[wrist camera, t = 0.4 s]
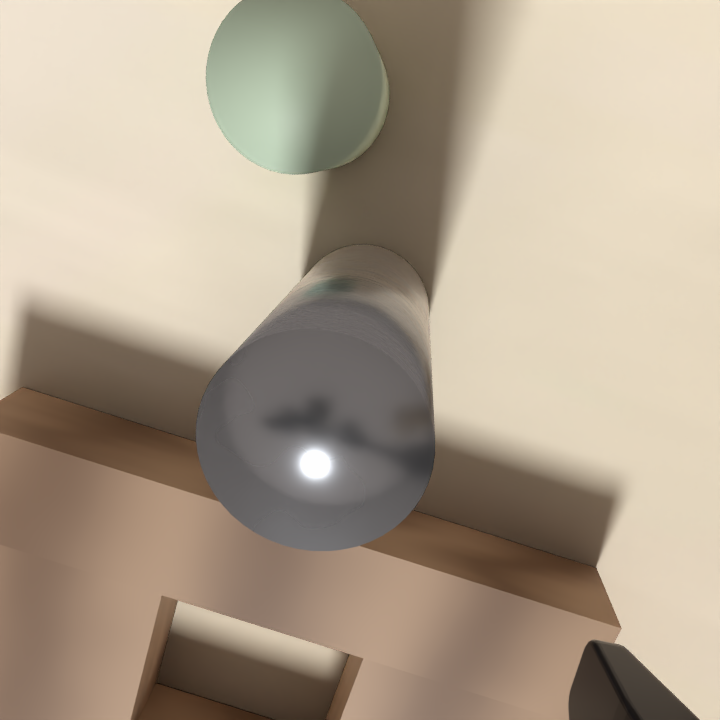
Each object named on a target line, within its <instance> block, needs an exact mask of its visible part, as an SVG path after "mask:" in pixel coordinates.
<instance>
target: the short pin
mask: <svg viewBox="0 0 720 720" xmlns="http://www.w3.org/2000/svg"><path fill="white" fill-rule="evenodd" d="M206 86H207V94H208V99H209V104H210V107H211V110H212V113H213V116H214V118H215V120H216V122H217V124H218V126H219V128H220V130H221V131H222V133H223V134H224V136H225V137H226V139H227V140H228V141H229V142H230V143H231V145H232V146H233V147H234V148H235V149H236V150H237V151H238V152H239V153H240V154H242V155H243V156H244V157H246V158H247V159H248V160H250V161H251V162H253V163H255V164H257V165H258V166H260V167H263V168H265V169H268V170H270V171H274V172H278V173H283V174H308V173H313V172H318V171H323V170H327V169H332V168H336V167H339V166H342V165H345V164H347V163H349V162H351V161H353V160H354V159H356V158H358V157H359V156H360V155H362V154H363V153H364V152H365V151H366V150H367V149H368V148H369V147H370V146H371V145H372V144H373V142H374V141H375V139H376V138H377V137H378V135H379V133H380V131H381V129H382V127H383V125H384V122H385V119H386V116H387V112H388V107H389V82H388V76H387V73H386V69H385V66H384V64H383V61H382V59H381V56H380V54H379V52H378V50H377V47H376V45H375V43H374V41H373V38H372V36H371V34H370V32H369V31H368V29H367V27H366V25H365V24H364V22H363V21H362V20H361V18H360V17H359V16H358V14H357V13H356V12H355V11H354V10H353V9H352V8H351V7H350V6H349V5H347V4H346V3H345V2H344V1H342V0H242V1H241V2H239V3H238V4H237V5H236V6H235V7H234V8H233V9H232V10H231V11H230V12H229V13H228V15H227V16H226V17H225V19H224V20H223V21H222V23H221V25H220V26H219V28H218V30H217V32H216V34H215V36H214V39H213V41H212V43H211V47H210V51H209V54H208V60H207V66H206Z"/></svg>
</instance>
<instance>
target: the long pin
mask: <svg viewBox="0 0 720 720" xmlns="http://www.w3.org/2000/svg"><path fill="white" fill-rule="evenodd" d="M196 445H197V453H198V457H199V461H200V465H201V468H202V471H203V473H204V476H205V478H206V480H207V482H208V484H209V486H210V488H211V489H212V491H213V493H214V494H215V496H216V497H217V498H218V500H219V501H220V503H221V504H222V505H223V506H224V507H225V508H226V509H227V510H228V512H229V513H230V514H231V515H232V516H233V517H235V518H236V519H237V520H238V521H239V522H240V523H242V524H243V525H244V526H246V527H247V528H249V529H250V530H252V531H253V532H255V533H256V534H258V535H260V536H262V537H264V538H266V539H268V540H270V541H273V542H276V543H278V544H281V545H284V546H288V547H292V548H296V549H302V550H309V551H335V550H343V549H348V548H353V547H357V546H360V545H363V544H365V543H368V542H371V541H373V540H375V539H377V538H379V537H381V536H383V535H384V534H386V533H387V532H389V531H390V530H392V529H393V528H395V527H396V526H397V525H398V524H399V523H401V522H402V521H403V520H404V519H405V518H406V517H407V516H408V515H409V514H410V512H411V511H412V510H413V509H414V508H415V506H416V505H417V503H418V502H419V500H420V499H421V497H422V496H423V493H424V491H425V489H426V487H427V485H428V483H429V479H430V476H431V473H432V469H433V463H434V456H435V432H434V410H433V388H432V367H431V345H430V323H429V304H428V297H427V293H426V289H425V287H424V284H423V282H422V280H421V278H420V277H419V275H418V273H417V272H416V271H415V269H414V268H413V267H412V266H411V265H410V264H409V263H408V262H407V261H406V260H405V259H403V258H402V257H401V256H399V255H398V254H396V253H394V252H392V251H390V250H388V249H385V248H383V247H379V246H375V245H366V244H361V245H351V246H346V247H343V248H339V249H337V250H335V251H333V252H331V253H329V254H328V255H326V256H324V257H323V258H322V259H321V260H320V261H318V262H317V263H316V264H315V265H314V267H313V268H312V269H311V270H310V271H309V272H308V273H307V274H306V275H305V276H304V277H303V279H302V280H301V281H300V282H299V283H298V284H297V285H296V286H295V287H294V288H293V289H292V290H291V292H290V293H289V294H288V295H287V296H286V297H285V298H284V299H283V300H282V301H281V302H280V304H279V305H278V306H277V307H276V308H275V309H274V310H273V311H272V312H271V313H270V314H269V315H268V317H267V318H266V319H265V320H264V321H263V322H262V323H261V324H260V325H259V326H258V327H257V329H256V330H255V331H254V332H253V333H252V334H251V335H250V336H249V337H248V338H247V339H246V340H245V342H244V343H243V344H242V345H241V346H240V347H239V348H238V349H237V350H236V351H235V352H234V354H233V355H232V356H231V357H230V358H229V359H228V360H227V361H226V362H225V363H224V364H223V365H222V367H221V368H220V369H219V370H218V371H217V372H216V374H215V375H214V377H213V378H212V380H211V381H210V383H209V385H208V387H207V389H206V391H205V393H204V395H203V397H202V400H201V403H200V407H199V410H198V416H197V421H196Z"/></svg>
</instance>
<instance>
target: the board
mask: <svg viewBox="0 0 720 720" xmlns="http://www.w3.org/2000/svg"><path fill="white" fill-rule="evenodd" d="M177 601H182V602H185V603H188V604H191V605H194V606H198V607H201V608H204V609H207V610H210V611H214V612H217V613H220V614H223V615H226V616H230V617H233V618H236V619H239V620H242V621H245V622H249V623H252V624H255V625H258V626H261V627H265V628H268V629H271V630H274V631H277V632H281V633H284V634H287V635H290V636H293V637H297V638H300V639H303V640H306V641H309V642H312V643H316V644H319V645H322V646H325V647H328V648H332V649H335V650H338V651H341V652H344V653H348V654H349V657H348V660H347V662H346V665H345V668H344V670H343V673H342V676H341V679H340V681H339V684H338V687H337V689H336V692H335V695H334V697H333V700H332V703H331V706H330V708H329V711H328V714H327V716H326V719H325V720H569V712H568V701H569V694H570V689H571V686H572V683H573V680H574V677H575V674H576V671H577V668H578V665H579V662H580V660H581V657H582V654H583V651H584V648H585V646H586V645H587V643H588V642H589V641H591V640H593V639H596V640H601V641H605V642H610V643H614V642H615V640H616V638H617V636H618V634H619V632H620V630H621V629H622V628H621V626H620V624H619V621H618V619H617V616H616V614H615V612H614V609H613V607H612V604H611V602H610V600H609V597H608V595H607V592H606V590H605V588H604V585H603V583H602V580H601V578H600V576H599V573H598V571H597V568H594V567H591V566H588V565H585V564H582V563H579V562H575V561H572V560H569V559H566V558H563V557H560V556H556V555H553V554H550V553H547V552H544V551H541V550H537V549H534V548H531V547H528V546H525V545H522V544H518V543H515V542H512V541H509V540H506V539H502V538H499V537H496V536H493V535H490V534H487V533H483V532H480V531H477V530H474V529H471V528H468V527H464V526H461V525H458V524H455V523H452V522H449V521H445V520H442V519H439V518H436V517H433V516H430V515H426V514H423V513H420V512H417V511H414V510H412V511H411V512H410V514H409V515H408V516H407V517H406V518H405V519H404V520H403V521H402V522H401V523H399V524H398V525H397V526H396V527H395V528H393V529H392V530H390V531H389V532H387V533H386V534H384V535H383V536H381V537H379V538H377V539H375V540H373V541H371V542H368V543H365V544H363V545H360V546H357V547H353V548H348V549H343V550H335V551H309V550H302V549H296V548H292V547H288V546H284V545H281V544H278V543H276V542H273V541H270V540H268V539H266V538H264V537H262V536H260V535H258V534H256V533H255V532H253V531H252V530H250V529H249V528H247V527H246V526H244V525H243V524H242V523H240V522H239V521H238V520H237V519H236V518H235V517H233V516H232V515H231V514H230V513H229V512H228V510H227V509H226V508H225V507H224V506H223V505H222V504H221V503H220V501H219V500H218V498H217V497H216V496H215V494H214V493H213V491H212V489H211V488H210V486H209V484H208V482H207V480H206V478H205V476H204V473H203V471H202V468H201V465H200V461H199V457H198V453H197V445H196V442H195V441H192V440H189V439H185V438H182V437H179V436H176V435H173V434H170V433H166V432H163V431H160V430H157V429H154V428H151V427H147V426H144V425H141V424H138V423H135V422H132V421H128V420H125V419H122V418H119V417H116V416H113V415H109V414H106V413H103V412H100V411H97V410H93V409H90V408H87V407H84V406H81V405H78V404H74V403H71V402H68V401H65V400H62V399H59V398H55V397H52V396H49V395H46V394H43V393H40V392H36V391H33V390H30V389H27V388H24V387H22V388H20V389H19V390H17V391H15V392H14V393H12V394H10V395H9V396H7V397H5V398H4V399H2V400H0V720H272V719H269V718H266V717H263V716H260V715H256V714H253V713H250V712H247V711H244V710H240V709H237V708H234V707H231V706H228V705H224V704H221V703H218V702H215V701H212V700H208V699H205V698H202V697H199V696H196V695H192V694H189V693H186V692H183V691H180V690H176V689H173V688H170V687H167V686H164V685H160V684H157V683H156V682H157V678H158V674H159V670H160V666H161V662H162V659H163V655H164V651H165V647H166V643H167V639H168V635H169V632H170V628H171V624H172V620H173V616H174V612H175V609H176V605H177Z"/></svg>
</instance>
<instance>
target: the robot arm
mask: <svg viewBox="0 0 720 720" xmlns="http://www.w3.org/2000/svg"><path fill="white" fill-rule="evenodd" d="M568 712H569V720H699V719H698V718H697V717H696V716H695V715H694V714H693V713H692V712H691V711H690V710H689V709H688V708H687V707H686V706H685V705H684V704H683V703H682V702H681V701H680V700H679V699H678V698H677V697H676V696H675V695H674V694H673V693H672V692H671V691H670V690H669V689H668V688H667V687H665V686H664V685H663V684H662V683H661V682H660V681H659V680H658V679H657V678H656V677H655V676H654V675H653V674H652V673H651V672H650V671H649V670H648V669H647V668H646V667H645V666H644V665H643V664H642V663H641V662H640V661H639V660H638V659H637V658H636V657H635V656H634V655H633V654H632V653H630V652H629V651H628V650H627V649H626V648H625V647H624V646H622V645H619V644H615V643H610V642H605V641H601V640H596V639H593V640H591V641H589V642H588V643H587V645H586V646H585V648H584V651H583V654H582V657H581V660H580V662H579V665H578V668H577V671H576V674H575V677H574V680H573V683H572V686H571V689H570V694H569V701H568Z"/></svg>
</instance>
